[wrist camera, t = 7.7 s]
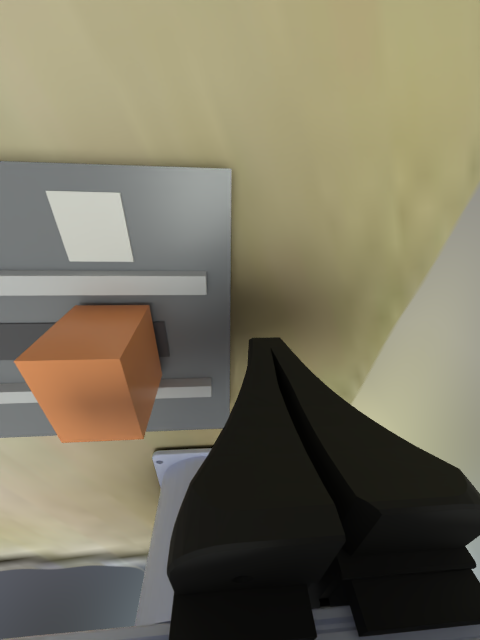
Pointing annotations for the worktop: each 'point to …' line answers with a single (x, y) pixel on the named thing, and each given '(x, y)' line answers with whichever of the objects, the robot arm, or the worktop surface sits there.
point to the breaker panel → (119, 276)
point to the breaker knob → (96, 372)
